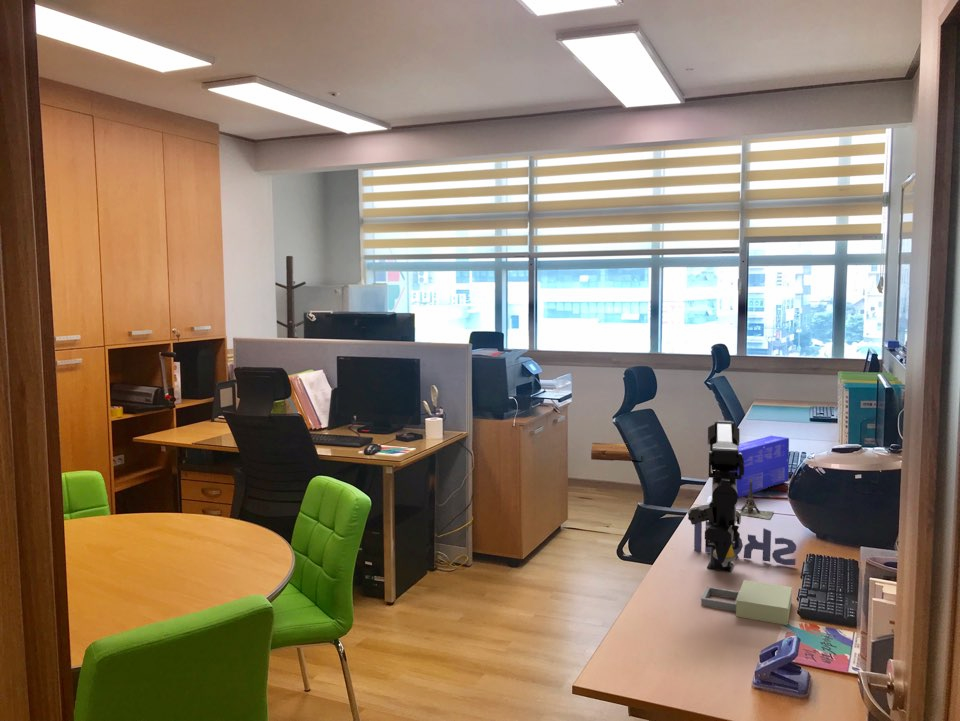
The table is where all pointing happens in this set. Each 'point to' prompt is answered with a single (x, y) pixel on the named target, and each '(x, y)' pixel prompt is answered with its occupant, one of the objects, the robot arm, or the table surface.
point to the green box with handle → (754, 601)
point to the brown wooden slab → (610, 452)
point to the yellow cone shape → (729, 556)
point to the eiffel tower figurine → (751, 505)
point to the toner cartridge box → (763, 464)
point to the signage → (753, 546)
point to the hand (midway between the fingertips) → (722, 558)
